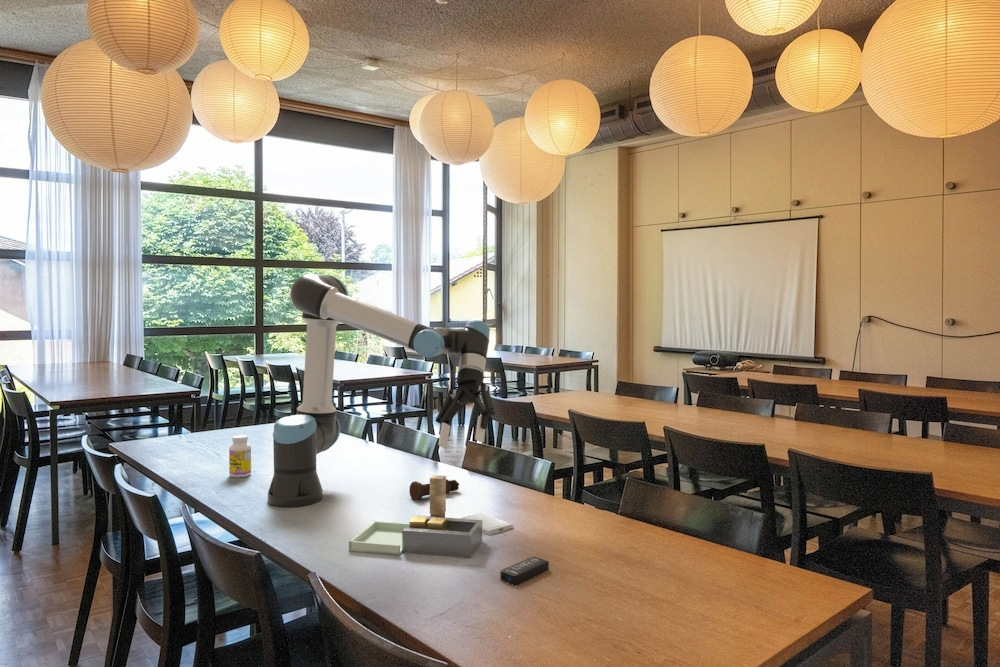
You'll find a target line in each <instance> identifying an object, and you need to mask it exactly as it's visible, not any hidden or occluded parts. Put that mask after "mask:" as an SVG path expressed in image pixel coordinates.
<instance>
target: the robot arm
mask: <svg viewBox="0 0 1000 667" xmlns="http://www.w3.org/2000/svg"><path fill="white" fill-rule="evenodd" d="M289 296H290V300H291V302H292V305H293V306H294V307H295V308H296V310H298V311H300V312H301V313H302V314H301V315H302V317H301V318H302V320H303V321H304V323H305V324H306V338H305V339H306V340H305V353H304V354H305V355H304V356H305V357H304V373H303V375H304V376H303V390H302V403H300V405H298V406H297V408H296V414H292V415H289V416H284V417H281V418H279V419H278V420H276V421H275V423H274V424H273V431H272V432H273V433H272V438H273V446H272V447H273V476H272V480H271V483H270V484H269V488H268V492H267V503H268V504H269V505H272V506H275V507H282V508H285V507H286V508H289V507H290V508H292V507H302V506H303V507H304V506H309V505H313V504H316V503H318V502H320V501H321V500H323V498H324V495H323V494H324V491H323V487H322V484H321V481H320V478H319V474H318V472H317V455H318V454H321V453H323V452H325V451H327V450H329V449H331V447H333V446H334V445H335V444H336V442H337V441H338V439H339V437H340V434H341V424H340V421H339V419H338V418H337V408H336V407H335V406H334V405H333V401H332V400H333V384H334V371H335V370H334V369H335V368H334V367H335V353H336V350H335V349H336V335H337V334H336V333H337V326H338V325H339V324H340V323H341V324H345V325H347V326H350V327H352V328H356V329H358V330H361V331H363V332H365V333H368V334H370V335H374V336H376V337H378V338H382V339H384V340H387V341H389V342H392V343H394V344H397V345H399V346H402V347H405V348H406V349H409V350H411V351H413V352H416V353H417V354H418V355H419V356H421V357H423V358H429V359H430V358H434V357H438V356H439V355H443V354H451V355H453V354H454V355H460V358H459V362H458V371H457V374H456V385H457V389H456V390H454V391H453V390H452V389H449V390H447V397H446V398H445V400H444V402H443V404H442V406H441V408H440V410H439V411H438V412H439V413H438V414H437V416H436V418H435V423H438V424H440V426H439V431H438V434H439V438H438V444H437V445H438V446H440V447H441V448H444V449H447V448H448V444H449V437H450V431H451V425H450V423H451V422H452V420H453V419H454V418H455V416H456V415H457V414H458V412H459V411H460V409H461V408H463V407H464V406H465V405H468V404H474V406H475V408H476V409H477V410H478V412H479V415H478V416H477V421H476V429H475V434H474V435H475V436H474V440H476V441H478V442H480V443H484V442H485V436H486V435H485V434H486V430H487V428H488V423H489V418H490V417H491V416H494V415H495V414H496V410H495V406H494V404H493V399H492V396H491V394H490V392H491V391H490V385H488V384H487V383H485V382H484V379H485V375H484V374H485V370H486V362H487V358H488V349H489V344H490V326H489V325H488V324H487V323H486V322H484V321H481V320H470V321H467V322H466V323H465V326H464V328H452V327H438V326H431V327H430V326H427V325H424V324H421V323H418V322H416V321H414V320H410V319H408V318H405V317H403V316H401V315H398V314H395V313H393V312H390V311H387V310H385V309H382V308H381V307H377V306H374V305H372V304H369V303H367V302H365V301H361V300H359V299H356V298H355V297H351V296H349V291H348V288H347V287H346V284H345V283H344V282H343V281H342V280H341V279H339V278H337V277H335V276H333V275H329V274H316V273H306V274H303V275H301V276H299V277H298V278H296V280H294V282H293V283H292V285H291V287H290V295H289ZM480 394H481V398H482V399H481V398H480V396H479V395H480Z"/></svg>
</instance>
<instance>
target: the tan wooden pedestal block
mask: <svg viewBox="0 0 1000 667" xmlns="http://www.w3.org/2000/svg"><path fill="white" fill-rule="evenodd" d="M446 479H447V475H440V474H433V475H432V476H430V478H429V484H430V495H429V516H430V517H444V518H446V511H447V501H446V500H447V495H446Z"/></svg>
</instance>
